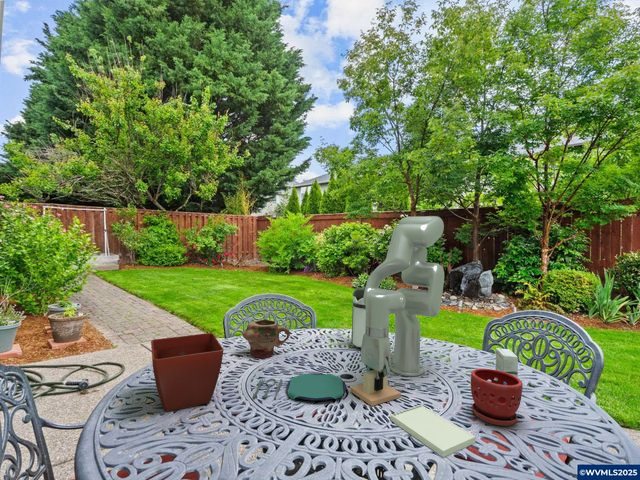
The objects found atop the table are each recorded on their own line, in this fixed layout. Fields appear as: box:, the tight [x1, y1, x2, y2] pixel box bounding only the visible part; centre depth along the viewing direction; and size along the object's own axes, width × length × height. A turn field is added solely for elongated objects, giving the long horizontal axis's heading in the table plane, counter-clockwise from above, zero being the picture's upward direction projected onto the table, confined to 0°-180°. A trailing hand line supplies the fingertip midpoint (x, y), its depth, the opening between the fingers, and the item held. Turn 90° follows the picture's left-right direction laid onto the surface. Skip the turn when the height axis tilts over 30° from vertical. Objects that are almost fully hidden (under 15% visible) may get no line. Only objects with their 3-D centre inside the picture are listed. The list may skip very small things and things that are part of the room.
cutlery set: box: [252, 373, 347, 402], centre depth 112 cm, size 20×30×2 cm, turn 89°
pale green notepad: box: [389, 404, 477, 458], centre depth 89 cm, size 18×12×2 cm, turn 30°
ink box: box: [494, 347, 519, 385], centre depth 118 cm, size 9×5×12 cm, turn 168°
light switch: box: [349, 370, 402, 407], centre depth 109 cm, size 11×12×7 cm
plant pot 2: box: [470, 368, 523, 427], centre depth 97 cm, size 13×13×12 cm
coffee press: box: [348, 282, 367, 349], centre depth 156 cm, size 17×16×30 cm
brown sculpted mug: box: [242, 319, 291, 359], centre depth 143 cm, size 20×12×14 cm, turn 98°
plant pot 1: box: [150, 332, 225, 413], centre depth 103 cm, size 19×19×17 cm
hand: (375, 387), depth 109 cm, fingers closed on light switch, 2 cm apart
